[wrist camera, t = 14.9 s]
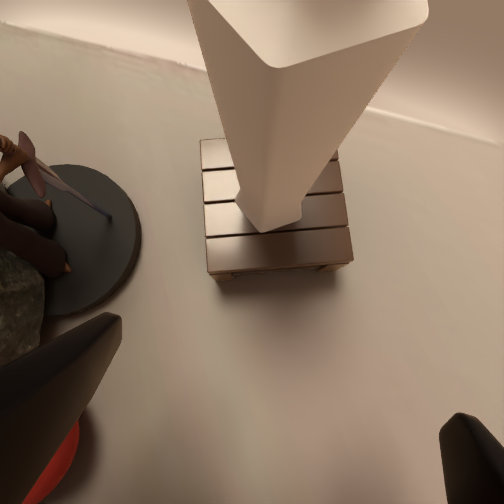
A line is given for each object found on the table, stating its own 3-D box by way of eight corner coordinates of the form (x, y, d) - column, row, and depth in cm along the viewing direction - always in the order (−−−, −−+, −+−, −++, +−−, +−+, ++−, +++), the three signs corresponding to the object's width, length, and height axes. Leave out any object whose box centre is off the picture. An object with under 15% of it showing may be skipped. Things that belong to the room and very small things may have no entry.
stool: (215, 281, 21) (207, 273, 17) (208, 169, 22) (199, 138, 18) (335, 270, 21) (354, 261, 17) (320, 160, 22) (334, 128, 19)
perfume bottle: (283, 255, 17) (482, -111, 2) (218, 212, 18) (37, -319, 3) (327, 190, 18) (693, -406, 3) (263, 150, 18) (311, -532, 4)
